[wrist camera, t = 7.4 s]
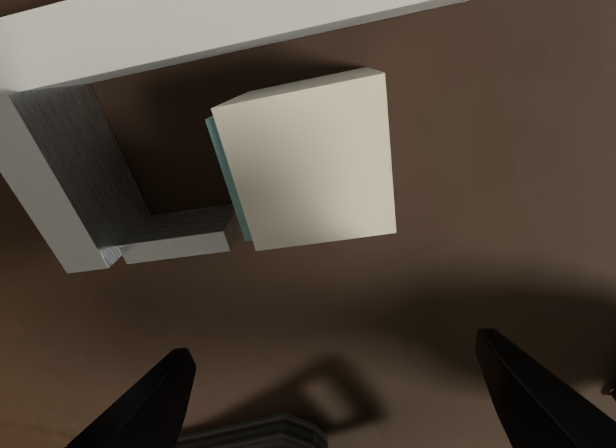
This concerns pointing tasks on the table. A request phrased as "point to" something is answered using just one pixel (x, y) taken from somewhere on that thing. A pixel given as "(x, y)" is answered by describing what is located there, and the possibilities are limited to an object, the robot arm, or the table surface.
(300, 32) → the wall board
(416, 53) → the table surface
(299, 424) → the zipper pull
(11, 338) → the table surface
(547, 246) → the table surface
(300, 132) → the cream matte cube
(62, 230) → the cleat
